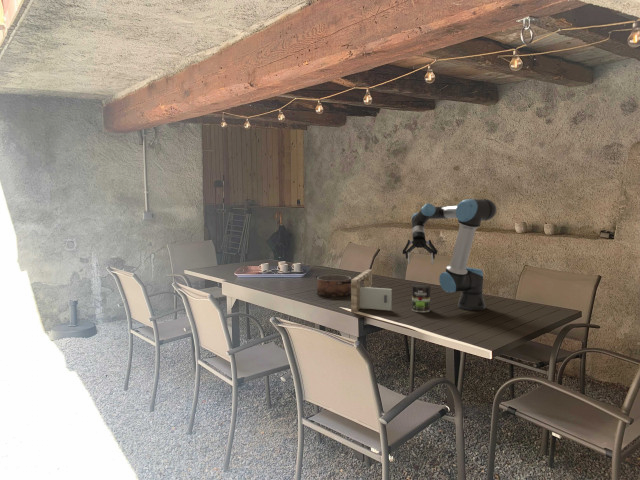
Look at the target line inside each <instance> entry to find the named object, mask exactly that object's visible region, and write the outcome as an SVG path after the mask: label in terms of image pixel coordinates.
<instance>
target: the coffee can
mask: <svg viewBox="0 0 640 480" xmlns="http://www.w3.org/2000/svg"><path fill="white" fill-rule="evenodd" d="M411 288H412V289H411V311H413V312H416V313H429V312H430V311H431V288H432V286H431V285H429V284H423V283H415V284H411Z"/></svg>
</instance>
